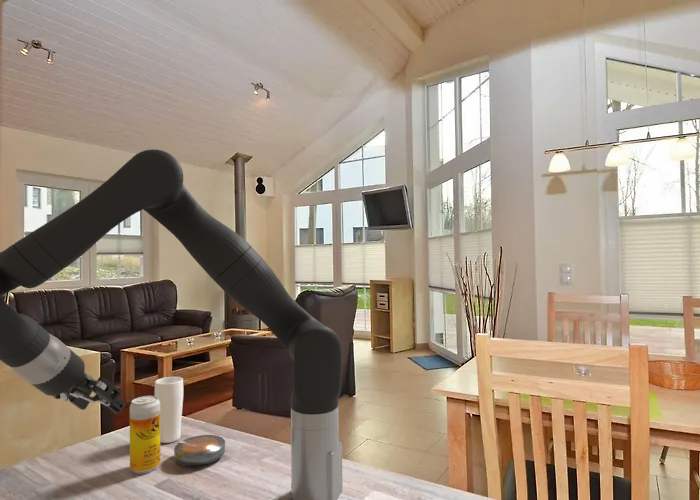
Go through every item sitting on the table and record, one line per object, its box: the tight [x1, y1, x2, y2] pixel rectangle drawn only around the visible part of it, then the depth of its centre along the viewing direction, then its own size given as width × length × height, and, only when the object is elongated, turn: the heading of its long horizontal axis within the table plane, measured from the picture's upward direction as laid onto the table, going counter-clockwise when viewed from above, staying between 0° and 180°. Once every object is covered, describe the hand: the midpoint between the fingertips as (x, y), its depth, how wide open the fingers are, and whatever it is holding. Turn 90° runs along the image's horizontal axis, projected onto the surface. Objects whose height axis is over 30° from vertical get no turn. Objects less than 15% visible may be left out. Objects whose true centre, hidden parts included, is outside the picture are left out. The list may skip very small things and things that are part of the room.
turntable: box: [173, 434, 226, 467], centre depth 99 cm, size 11×11×2 cm
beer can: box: [129, 395, 161, 475], centre depth 95 cm, size 6×6×15 cm
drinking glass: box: [154, 376, 184, 444], centre depth 109 cm, size 7×7×15 cm
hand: (103, 407), depth 85 cm, fingers open, 8 cm apart
